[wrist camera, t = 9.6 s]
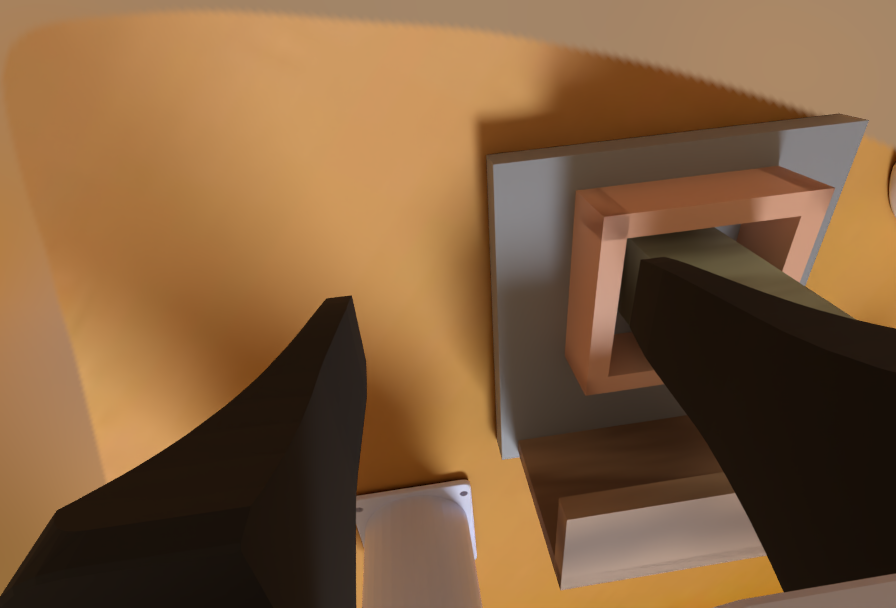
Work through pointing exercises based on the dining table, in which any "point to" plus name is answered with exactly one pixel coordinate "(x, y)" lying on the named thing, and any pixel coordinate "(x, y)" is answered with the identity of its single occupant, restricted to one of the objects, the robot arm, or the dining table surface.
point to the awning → (634, 502)
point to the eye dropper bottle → (893, 190)
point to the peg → (713, 266)
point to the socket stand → (604, 243)
